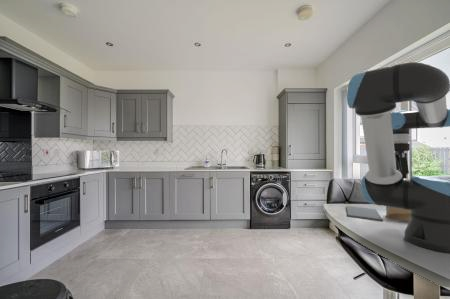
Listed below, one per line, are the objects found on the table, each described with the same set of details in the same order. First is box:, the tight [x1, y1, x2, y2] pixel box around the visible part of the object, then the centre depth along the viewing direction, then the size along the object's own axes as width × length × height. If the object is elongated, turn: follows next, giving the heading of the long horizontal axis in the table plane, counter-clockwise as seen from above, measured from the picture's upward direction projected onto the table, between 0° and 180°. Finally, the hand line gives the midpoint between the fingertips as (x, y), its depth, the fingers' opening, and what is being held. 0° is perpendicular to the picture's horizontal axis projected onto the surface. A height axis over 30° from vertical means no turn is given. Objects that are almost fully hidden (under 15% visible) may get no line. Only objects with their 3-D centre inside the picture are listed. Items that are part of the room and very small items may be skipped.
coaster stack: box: [385, 206, 411, 222], centre depth 104 cm, size 6×9×7 cm, turn 62°
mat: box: [345, 205, 384, 222], centre depth 111 cm, size 20×14×1 cm
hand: (399, 186), depth 104 cm, fingers open, 13 cm apart
